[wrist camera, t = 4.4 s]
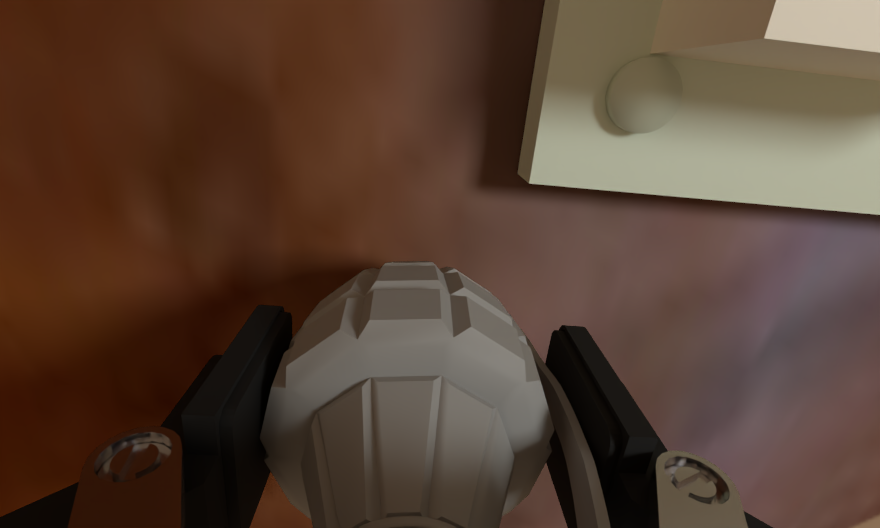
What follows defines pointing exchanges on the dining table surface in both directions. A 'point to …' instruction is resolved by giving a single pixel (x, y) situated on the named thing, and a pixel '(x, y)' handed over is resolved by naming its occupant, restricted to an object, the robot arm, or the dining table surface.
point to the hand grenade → (418, 408)
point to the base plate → (691, 119)
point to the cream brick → (775, 34)
